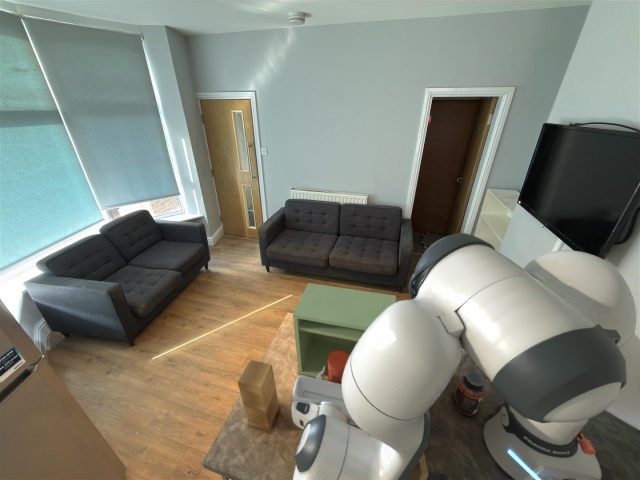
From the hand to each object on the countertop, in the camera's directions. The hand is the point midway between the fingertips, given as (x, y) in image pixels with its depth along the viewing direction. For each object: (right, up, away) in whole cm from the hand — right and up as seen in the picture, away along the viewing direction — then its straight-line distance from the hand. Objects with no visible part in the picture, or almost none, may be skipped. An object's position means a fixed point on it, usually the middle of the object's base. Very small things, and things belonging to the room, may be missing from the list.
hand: (339, 370), depth 71 cm
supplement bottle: (+34, -10, 0) cm, 36 cm away
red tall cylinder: (0, -6, +2) cm, 7 cm away
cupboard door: (+15, -15, -9) cm, 23 cm away
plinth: (-20, -12, -1) cm, 23 cm away
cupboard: (+3, -4, +13) cm, 13 cm away
